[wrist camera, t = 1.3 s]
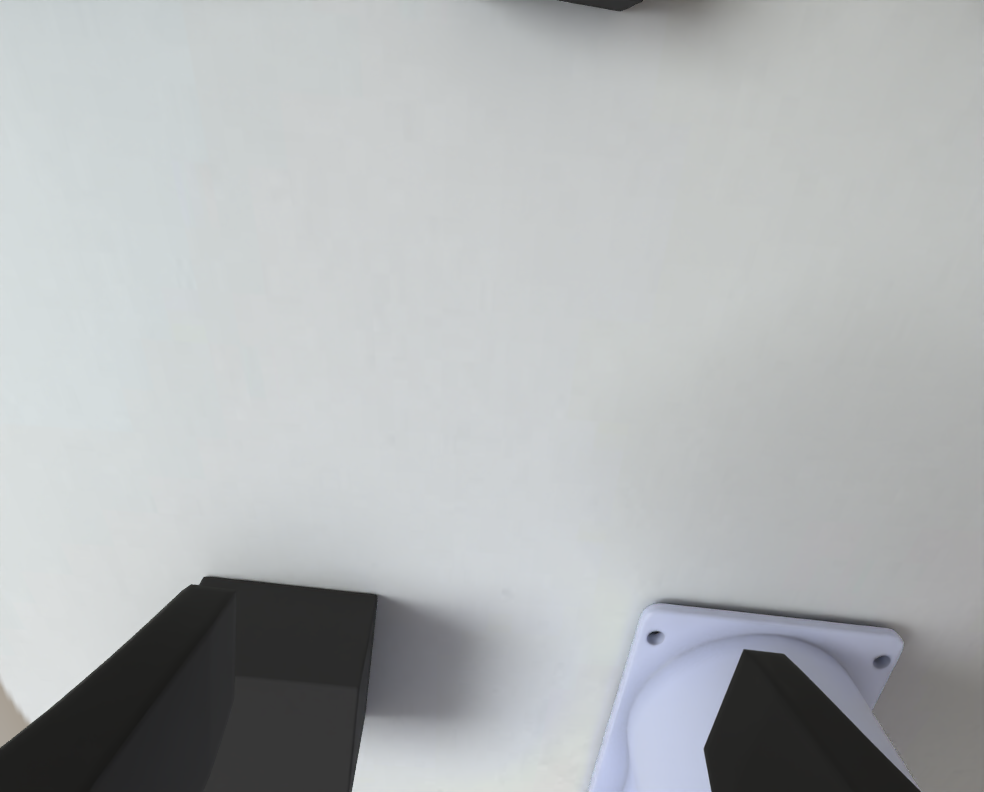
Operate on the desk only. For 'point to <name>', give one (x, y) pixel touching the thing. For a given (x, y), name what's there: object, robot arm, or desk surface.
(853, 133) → the desk surface
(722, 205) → the desk surface
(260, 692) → the small block
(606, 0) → the black slab with blocks
